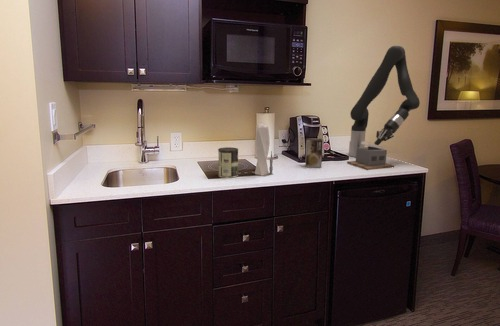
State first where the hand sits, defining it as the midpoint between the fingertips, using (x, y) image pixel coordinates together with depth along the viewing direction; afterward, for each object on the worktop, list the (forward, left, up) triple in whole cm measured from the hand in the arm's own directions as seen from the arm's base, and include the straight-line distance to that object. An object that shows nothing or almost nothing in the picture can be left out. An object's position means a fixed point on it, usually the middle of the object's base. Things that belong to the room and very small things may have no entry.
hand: (375, 144), depth 217 cm
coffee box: (-9, -37, -13) cm, 40 cm away
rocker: (0, -3, 0) cm, 3 cm away
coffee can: (-4, -91, -13) cm, 92 cm away
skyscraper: (-1, -73, -13) cm, 74 cm away
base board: (0, -3, -13) cm, 13 cm away
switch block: (0, -3, -11) cm, 12 cm away
